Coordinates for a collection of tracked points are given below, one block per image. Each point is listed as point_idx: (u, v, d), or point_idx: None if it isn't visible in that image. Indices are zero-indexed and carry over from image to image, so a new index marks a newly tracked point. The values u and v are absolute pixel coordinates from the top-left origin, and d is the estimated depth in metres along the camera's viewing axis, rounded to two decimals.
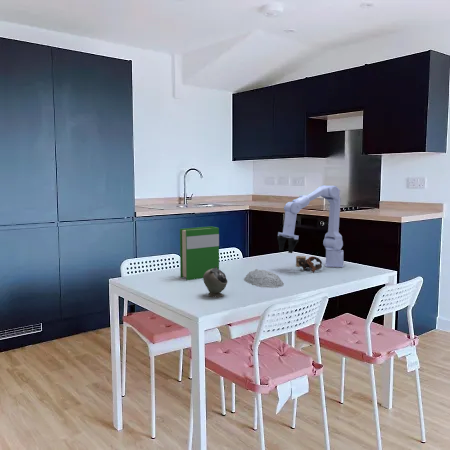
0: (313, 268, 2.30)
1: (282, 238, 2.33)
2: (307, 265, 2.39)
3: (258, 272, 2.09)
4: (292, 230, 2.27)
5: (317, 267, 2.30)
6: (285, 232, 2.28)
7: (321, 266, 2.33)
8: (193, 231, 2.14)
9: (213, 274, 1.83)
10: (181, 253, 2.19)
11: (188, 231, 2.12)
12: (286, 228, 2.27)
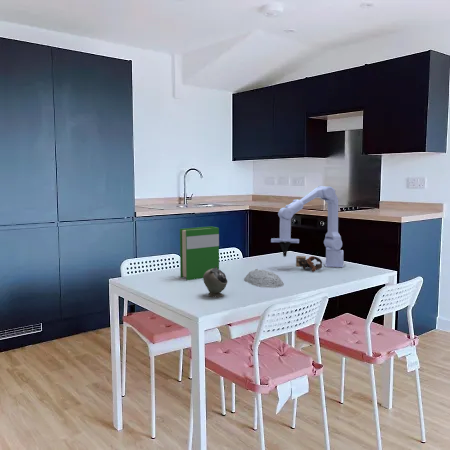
0: (313, 268, 2.31)
1: None
2: (307, 265, 2.39)
3: (258, 272, 2.09)
4: (290, 235, 2.35)
5: (317, 267, 2.31)
6: (286, 238, 2.33)
7: (321, 266, 2.33)
8: (193, 231, 2.14)
9: (213, 274, 1.83)
10: (181, 253, 2.19)
11: (188, 231, 2.12)
12: (287, 234, 2.33)
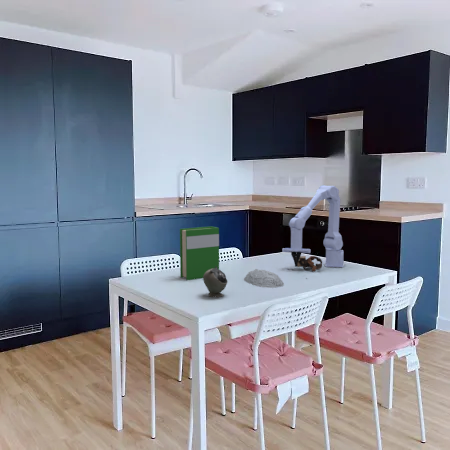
0: (314, 267, 2.31)
1: None
2: (307, 264, 2.40)
3: (258, 272, 2.09)
4: (301, 245, 2.35)
5: (318, 266, 2.31)
6: (298, 248, 2.32)
7: (321, 265, 2.34)
8: (193, 231, 2.14)
9: (213, 274, 1.83)
10: (181, 253, 2.19)
11: (188, 231, 2.12)
12: (298, 244, 2.32)
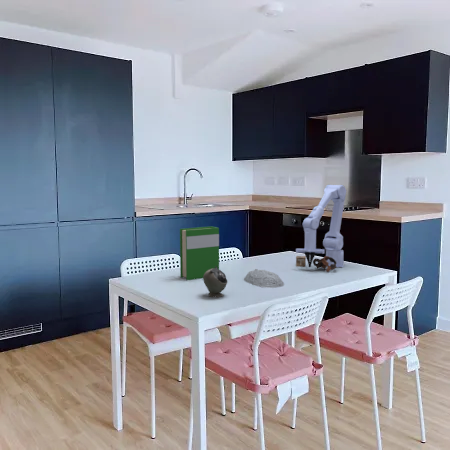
0: (328, 268, 2.30)
1: None
2: (320, 265, 2.38)
3: (258, 272, 2.09)
4: (315, 245, 2.33)
5: (332, 267, 2.30)
6: (312, 248, 2.31)
7: (335, 266, 2.33)
8: (193, 231, 2.14)
9: (213, 274, 1.83)
10: (181, 253, 2.19)
11: (188, 231, 2.12)
12: (312, 244, 2.31)
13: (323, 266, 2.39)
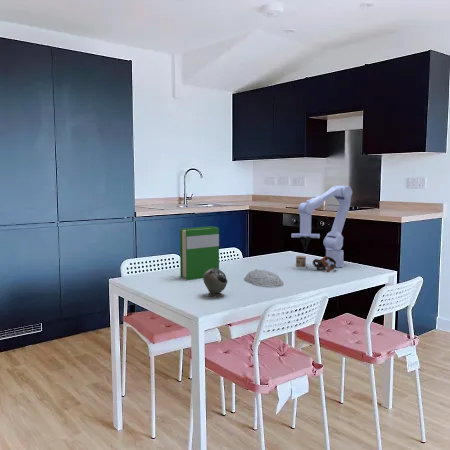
0: (328, 268, 2.30)
1: None
2: (320, 265, 2.38)
3: (258, 272, 2.09)
4: (310, 230, 2.35)
5: (332, 267, 2.31)
6: (307, 233, 2.33)
7: (335, 266, 2.33)
8: (193, 231, 2.14)
9: (213, 274, 1.83)
10: (181, 253, 2.19)
11: (188, 231, 2.12)
12: (307, 229, 2.33)
13: (323, 266, 2.39)
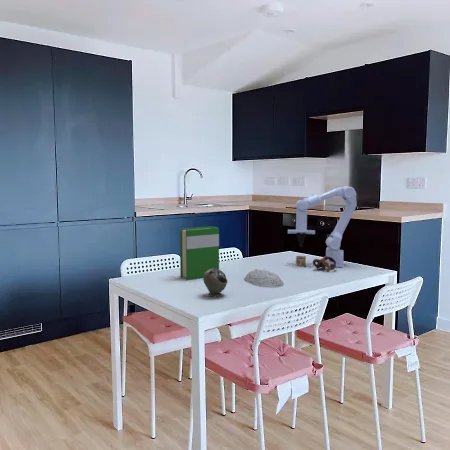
0: (328, 268, 2.30)
1: (300, 235, 2.44)
2: (320, 265, 2.39)
3: (258, 272, 2.09)
4: (306, 226, 2.44)
5: (332, 267, 2.31)
6: (303, 229, 2.42)
7: (335, 266, 2.34)
8: (193, 231, 2.14)
9: (213, 274, 1.83)
10: (181, 253, 2.19)
11: (188, 231, 2.12)
12: (303, 225, 2.41)
13: (323, 266, 2.40)
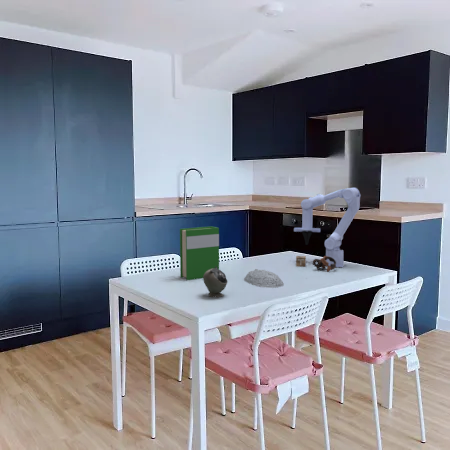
0: (328, 268, 2.31)
1: None
2: (320, 265, 2.39)
3: (258, 272, 2.09)
4: None
5: (332, 267, 2.31)
6: (308, 227, 2.50)
7: (335, 265, 2.34)
8: (193, 231, 2.14)
9: (213, 274, 1.83)
10: (181, 253, 2.19)
11: (188, 231, 2.12)
12: (309, 224, 2.50)
13: (323, 266, 2.40)
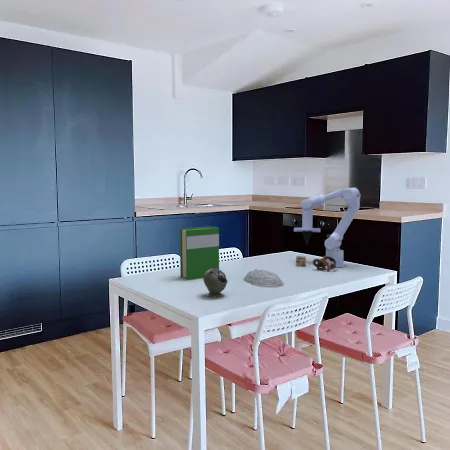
0: (328, 267, 2.31)
1: None
2: (320, 265, 2.40)
3: (258, 272, 2.09)
4: None
5: (332, 266, 2.32)
6: (308, 227, 2.50)
7: (335, 265, 2.34)
8: (193, 231, 2.14)
9: (213, 274, 1.83)
10: (181, 253, 2.19)
11: (188, 231, 2.12)
12: (309, 224, 2.50)
13: (323, 266, 2.40)
